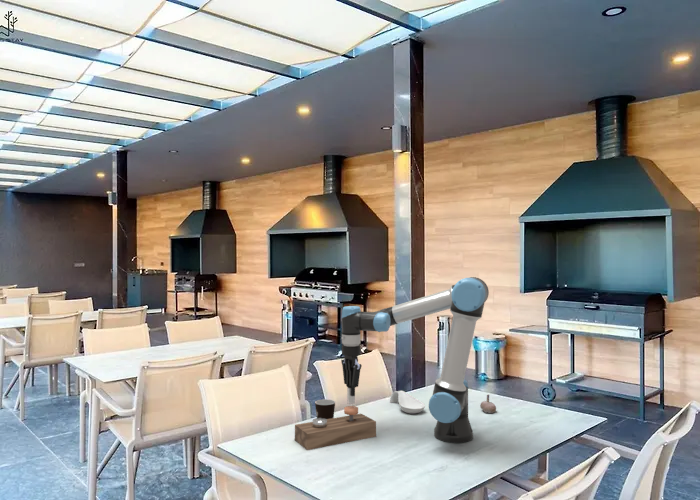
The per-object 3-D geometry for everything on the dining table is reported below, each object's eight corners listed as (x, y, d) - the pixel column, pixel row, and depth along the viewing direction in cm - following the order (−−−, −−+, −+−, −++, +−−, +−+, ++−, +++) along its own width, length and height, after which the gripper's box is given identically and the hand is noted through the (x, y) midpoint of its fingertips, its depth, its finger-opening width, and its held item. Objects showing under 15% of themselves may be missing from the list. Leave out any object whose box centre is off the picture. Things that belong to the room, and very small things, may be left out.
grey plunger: (329, 441, 198) (329, 421, 199) (316, 444, 196) (316, 423, 196) (323, 437, 203) (323, 417, 203) (310, 439, 201) (310, 419, 201)
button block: (376, 436, 205) (376, 421, 205) (307, 450, 190) (307, 433, 190) (361, 427, 215) (361, 413, 215) (294, 440, 201) (294, 424, 201)
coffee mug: (332, 429, 213) (332, 405, 213) (312, 428, 215) (312, 404, 215) (338, 421, 225) (338, 398, 225) (319, 419, 226) (319, 397, 226)
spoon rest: (429, 414, 235) (429, 398, 235) (407, 417, 230) (407, 401, 230) (403, 401, 256) (403, 386, 257) (382, 404, 252) (382, 389, 252)
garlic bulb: (483, 408, 243) (483, 391, 243) (499, 411, 239) (498, 394, 239) (477, 412, 237) (477, 395, 237) (493, 415, 233) (493, 397, 233)
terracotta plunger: (360, 428, 205) (360, 408, 205) (348, 431, 202) (348, 410, 203) (354, 424, 210) (353, 405, 210) (341, 426, 207) (341, 407, 208)
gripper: (335, 343, 211) (335, 400, 210) (350, 347, 199) (350, 408, 199) (351, 341, 214) (351, 398, 214) (367, 346, 203) (367, 406, 203)
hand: (351, 403), depth 206 cm, fingers closed
